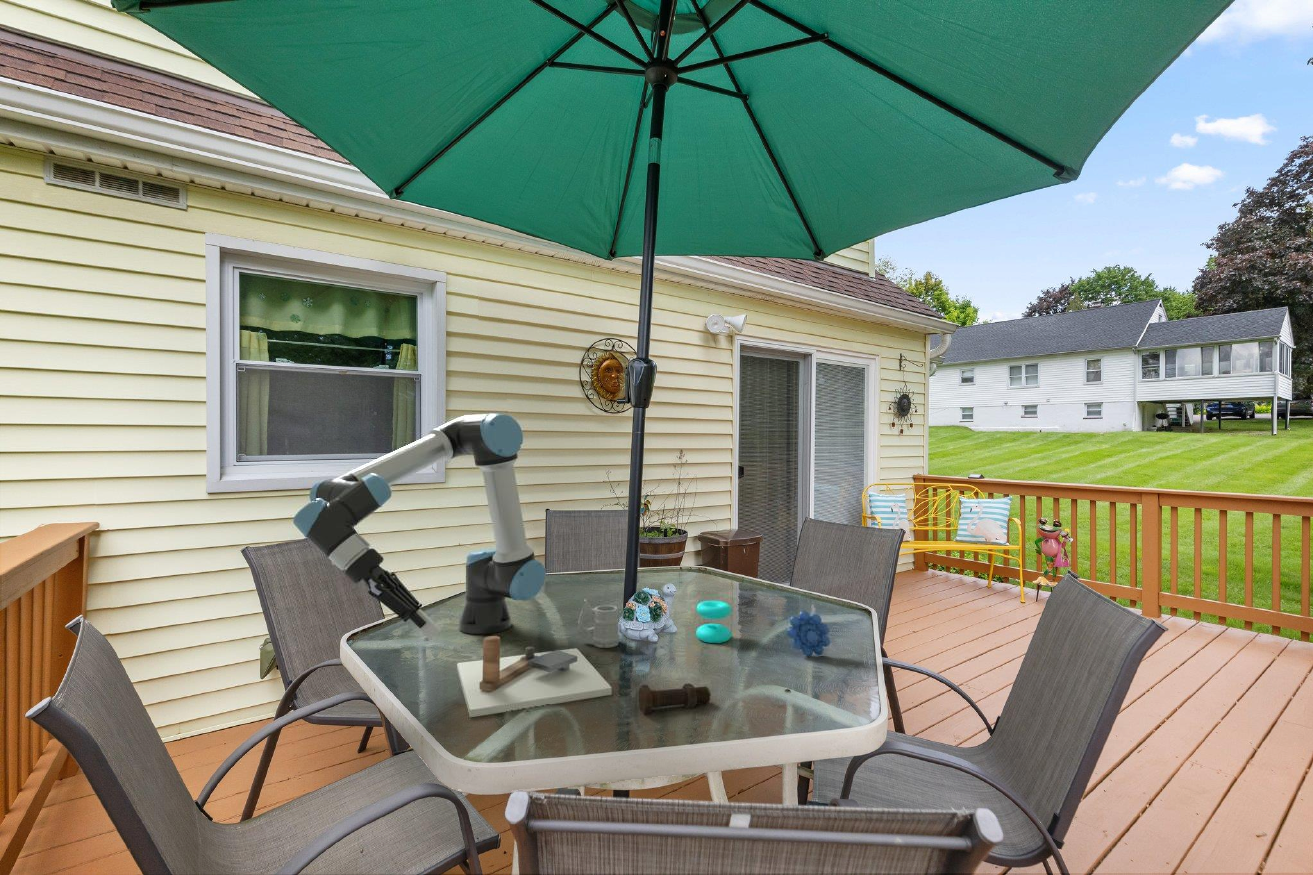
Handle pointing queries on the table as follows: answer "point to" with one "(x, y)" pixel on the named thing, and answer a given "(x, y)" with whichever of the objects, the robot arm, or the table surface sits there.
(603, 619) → the mug
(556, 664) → the block
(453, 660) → the table surface
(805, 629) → the blue knobby flower
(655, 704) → the bolt
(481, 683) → the link
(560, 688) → the base plate
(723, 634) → the donuts
